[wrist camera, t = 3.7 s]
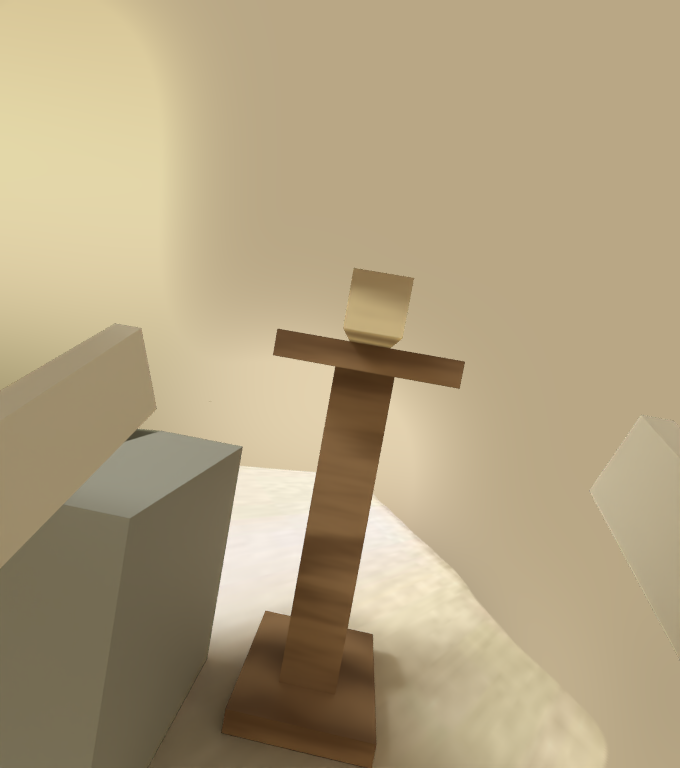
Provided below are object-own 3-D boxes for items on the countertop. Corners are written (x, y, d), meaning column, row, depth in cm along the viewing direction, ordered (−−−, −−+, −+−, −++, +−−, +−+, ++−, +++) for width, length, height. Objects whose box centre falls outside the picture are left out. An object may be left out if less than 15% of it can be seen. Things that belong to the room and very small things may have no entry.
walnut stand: (384, 771, 29) (464, 361, 27) (209, 729, 30) (277, 328, 28) (378, 653, 41) (433, 364, 39) (253, 626, 42) (303, 340, 40)
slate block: (68, 912, 19) (129, 518, 18) (-74, 872, 20) (-23, 486, 19) (207, 658, 36) (242, 446, 35) (128, 640, 37) (161, 430, 36)
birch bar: (402, 338, 19) (413, 277, 18) (343, 327, 19) (353, 268, 19) (380, 355, 42) (385, 329, 42) (354, 351, 43) (359, 325, 42)
